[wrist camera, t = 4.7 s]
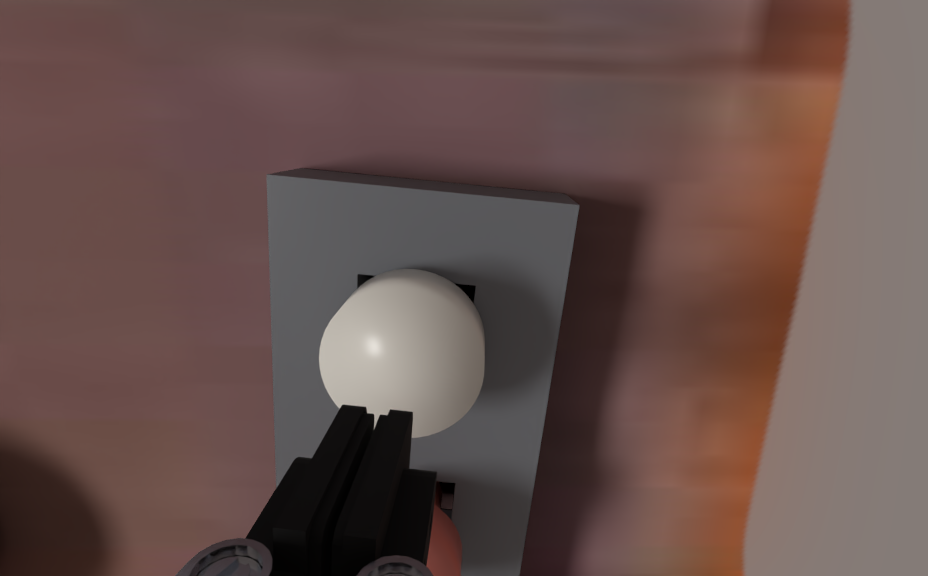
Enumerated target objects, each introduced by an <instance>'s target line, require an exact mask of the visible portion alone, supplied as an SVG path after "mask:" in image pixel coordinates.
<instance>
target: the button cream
mask: <svg viewBox="0 0 928 576" xmlns="http://www.w3.org/2000/svg"><path fill="white" fill-rule="evenodd" d="M319 366H320V372H321V377H322V380H323V383H324V385H325V388H326V390H327V392H328V394H329V396H330V397H331V399H332V400H333V401H334V403H335V404H336V405H337V407H338V408H339V409H340V408H341V406H342V405H353V406H363V407H366V408H367V413H371V414H374V428H375V426H376V423H377V421H378V418H379V416H380V415H388V413H389V410H390V409H391V410H401V411H410V412H413V425H412V438H418V437H424V436H429V435H432V434H435V433H438V432H440V431H442V430H445V429H447V428H448V427H450V426H452V425H453V424H455V423H456V422H457V421H459V420H460V419H461V418H462V417H463V416H464V415H465V414H466V413H467V412H468V411H469V410H470V408H471V407H472V406H473V404H474V403H475V401H476V399H477V397H478V395H479V393H480V390H481V387H482V384H483V378H484V366H485V336H484V328H483V324H482V320H481V318H480V315H479V313H478V311H477V309H476V307H475V305H474V304H473V302H472V301H471V300H470V298H469V297H468V296H467V295H466V294H465V293H464V292H463V291H462V290H461V289H460V288H459V287H458V286H456V285H455V284H454V283H452V282H451V281H449V280H447V279H446V278H444V277H442V276H439V275H437V274H435V273H431V272H428V271H424V270H418V269H398V270H392V271H388V272H384V273H382V274H379V275H376V276H375V277H373V278H371V279H369V280H367V281H366V282H365V283H363V284H362V285H361V286H360V287H358V288H357V289H356V290H355V291H354V292H353V294H352V295H351V296H350V297H349V298H348V300H347V301H346V302H345V303H344V304H343V306H342V307H341V308H340V309H339V310H338V312H337V313H336V314H335V315H334V317H333V318H332V319H331V320H330V322H329V324H328V326H327V327H326V329H325V332H324V334H323V337H322V340H321V345H320V351H319Z"/></svg>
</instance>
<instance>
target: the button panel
mask: <svg viewBox="0 0 928 576" xmlns="http://www.w3.org/2000/svg"><path fill="white" fill-rule="evenodd" d="M267 203H268V235H269V268H270V300H271V332H272V365H273V397H274V429H275V462H276V488H277V487H278V485H279V483H280V482H281V480H282V478H283V477H284V475H285V474H286V472H287V470H288V469H289V467H290V466H291V464H292V462H293V461H294V460H295V459H296V458H297V457H305V458H312V457H313V455H314V454H315V452H316V450H317V448H318V447H319V445H320V443H321V441H322V439H323V438H324V436H325V434H326V432H327V431H328V429H329V427H330V425H331V423H332V422H333V420H334V418H335V416H336V415H337V413H338V411H339V408H338V407H337V405H336V404H335V403H334V401H333V400H332V399H331V397H330V396H329V394H328V392H327V390H326V388H325V385H324V383H323V380H322V377H321V372H320V366H319V351H320V345H321V340H322V337H323V334H324V332H325V329H326V327H327V326H328V324H329V322H330V320H331V319H332V318H333V317H334V315H335V314H336V313H337V312H338V310H339V309H340V308H341V307H342V306H343V304H344V303H345V302H346V301H347V300H348V298H349V297H350V296H351V295H352V294H353V292H354V291H355V290H356V289H357V288H358V287H360V286H361V285H362V284H363V283H365V282H366V281H367V280H369V279H371V278H373V277H375V276H376V275H379V274H382V273H384V272H388V271H392V270H398V269H418V270H424V271H428V272H431V273H435V274H437V275H439V276H442V277H444V278H446V279H447V280H449V281H451V282H452V283H454V284H463V285H473V286H475V292H474V301H473V304H474V305H475V307H476V309H477V311H478V313H479V315H480V318H481V320H482V324H483V328H484V336H485V366H484V378H483V384H482V387H481V390H480V393H479V395H478V397H477V399H476V401H475V403H474V404H473V406H472V407H471V408H470V410H469V411H468V412H467V413H466V414H465V415H464V416H463V417H462V418H461V419H460V420H459V421H457V422H456V423H455V424H453V425H452V426H450V427H448V428H447V429H445V430H442V431H440V432H438V433H435V434H432V435H429V436H424V437H418V438H411V452H410V466H409V469H417V470H427V471H436V472H437V481H440V482H449V483H455V486H454V496H453V506H452V510H445V509H441V510H442V511H443V512H444V513H445V514H446V515H447V516H448V517H449V518H450V519H451V520H452V522H453V524H454V525H455V527H456V528H457V531H458V533H459V535H460V539H461V543H462V562H461V576H519V575H520V569H521V563H522V557H523V550H524V544H525V538H526V532H527V526H528V520H529V514H530V507H531V501H532V495H533V489H534V483H535V477H536V470H537V464H538V458H539V452H540V446H541V440H542V434H543V427H544V421H545V415H546V409H547V403H548V397H549V390H550V384H551V378H552V372H553V366H554V360H555V354H556V347H557V341H558V335H559V329H560V323H561V317H562V310H563V304H564V298H565V292H566V286H567V280H568V274H569V267H570V261H571V255H572V249H573V243H574V237H575V230H576V224H577V218H578V212H579V206H580V205H579V204H578V203H576V202H575V201H574V200H572V199H571V198H570V197H568V196H567V195H566V194H561V193H551V192H540V191H530V190H520V189H510V188H499V187H489V186H479V185H468V184H458V183H448V182H438V181H427V180H417V179H407V178H397V177H386V176H376V175H366V174H355V173H345V172H335V171H325V170H314V169H304V168H299V169H294V170H288V171H283V172H277V173H272V174H267Z"/></svg>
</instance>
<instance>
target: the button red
mask: <svg viewBox="0 0 928 576" xmlns="http://www.w3.org/2000/svg"><path fill="white" fill-rule="evenodd" d="M441 500H442V490H441V486H440V484H439V482H438V481H436V492H435V503H434V513H433V522H432V530H431V538H430V545H429V552H428V559H427V566H426V567H427V568H429V570H430V571H431V573H432V574H433V576H461V562H462V543H461V539H460V535H459V533H458V531H457V528H456V527H455V525H454V524H453V522H452V520H451V519H450V518H449V517H448V516H447V515H446V514H445V513H444V512H443V511H442V510H441V509H440V508H441Z"/></svg>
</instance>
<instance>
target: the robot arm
mask: <svg viewBox="0 0 928 576" xmlns="http://www.w3.org/2000/svg"><path fill="white" fill-rule="evenodd" d="M412 425H413V412H410V411H401V410H391V409H390V410H389V413H388V415H380V416H379V418H378V421H377V423H376V426H375V428H374V414H371V413H367V408H366V407H363V406H353V405H342V406H341V408H340V409H339V411H338V413H337V415H336V416H335V418H334V420H333V422H332V423H331V425H330V427H329V429H328V431H327V432H326V434H325V436H324V438H323V439H322V441H321V443H320V445H319V447H318V448H317V450H316V452H315V454H314V455H313V457H312V458H305V457H297V458H296V459H295V460H294V461H293V462H292V464H291V466H290V467H289V469H288V470H287V472H286V474H285V475H284V477H283V478H282V480H281V482H280V483H279V485H278V487H277V488H276V490H275V491H274V493H273V495H272V496H271V498H270V499H269V501H268V503H267V504H266V506H265V508H264V509H263V511H262V512H261V514H260V516H259V517H258V519H257V520H256V522H255V524H254V525H253V527H252V529H251V530H250V532H249V533H248V535H247V537H246V538H245V539H243V538H237V539H230V540H225V541H222V542H219V543H216V544H213V545H211V546H209V547H207V548H206V549H204V550H202V551H200V552H199V553H198V554H197V555H195V556H194V557H193V558H192V559H191V560H190V561H188V562H187V564H186V565H185V566H184V567H183V568H182V569H181V570H180V571H179V572H178V573H177V574H176V575H175V576H433V574H432V573H431V571H430V570H429V568H427V567H426V566H427V559H428V552H429V545H430V538H431V530H432V522H433V513H434V503H435V492H436V481H437V472H436V471H427V470H417V469H409V466H410V452H411V438H412Z"/></svg>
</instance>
